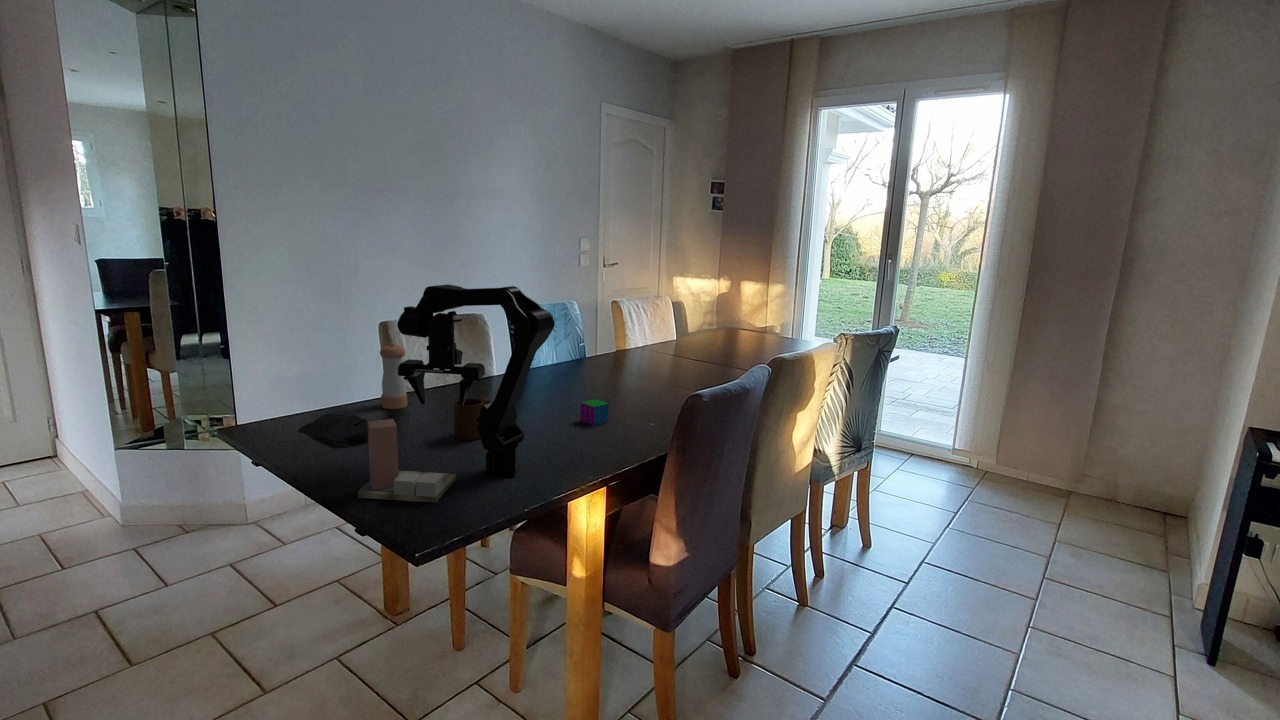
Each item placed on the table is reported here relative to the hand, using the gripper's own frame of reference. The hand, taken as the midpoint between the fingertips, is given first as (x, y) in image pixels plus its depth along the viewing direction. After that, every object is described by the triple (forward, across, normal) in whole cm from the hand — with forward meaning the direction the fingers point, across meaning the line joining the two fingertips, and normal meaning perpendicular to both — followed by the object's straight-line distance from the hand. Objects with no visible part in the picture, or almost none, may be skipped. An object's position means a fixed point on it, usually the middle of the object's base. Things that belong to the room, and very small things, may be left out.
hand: (442, 405), depth 147 cm
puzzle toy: (+13, -32, -35) cm, 49 cm away
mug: (+13, -2, -18) cm, 22 cm away
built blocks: (+12, -3, +22) cm, 25 cm away
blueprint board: (+13, +1, +18) cm, 22 cm away
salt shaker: (+13, +29, -39) cm, 50 cm away
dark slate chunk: (+14, +31, -13) cm, 36 cm away
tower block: (+12, +6, +20) cm, 23 cm away
